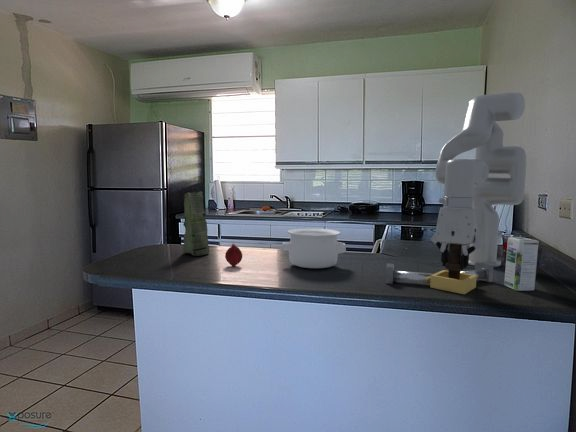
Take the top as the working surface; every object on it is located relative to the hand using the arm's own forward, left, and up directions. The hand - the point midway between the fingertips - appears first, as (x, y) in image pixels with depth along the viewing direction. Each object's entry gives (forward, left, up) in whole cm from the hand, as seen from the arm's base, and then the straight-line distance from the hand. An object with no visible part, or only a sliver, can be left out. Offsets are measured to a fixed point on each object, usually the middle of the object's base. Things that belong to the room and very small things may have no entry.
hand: (454, 266), depth 113 cm
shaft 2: (-9, +2, -6) cm, 11 cm away
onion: (+28, -64, -6) cm, 70 cm away
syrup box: (-13, +14, -6) cm, 20 cm away
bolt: (0, 0, -5) cm, 5 cm away
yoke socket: (0, 0, -6) cm, 6 cm away
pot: (+8, -45, -6) cm, 46 cm away
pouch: (+25, -91, -6) cm, 95 cm away
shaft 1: (+5, -10, -6) cm, 13 cm away
